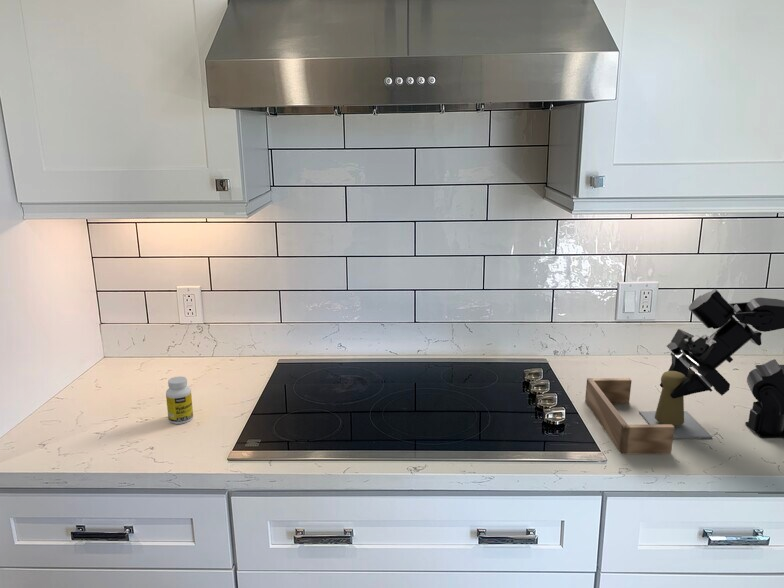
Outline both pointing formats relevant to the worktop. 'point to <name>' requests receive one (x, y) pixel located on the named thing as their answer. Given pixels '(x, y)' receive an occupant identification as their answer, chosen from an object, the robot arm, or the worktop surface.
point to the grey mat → (680, 426)
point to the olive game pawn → (670, 400)
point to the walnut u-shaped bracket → (624, 435)
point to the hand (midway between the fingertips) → (666, 391)
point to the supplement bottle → (179, 401)
